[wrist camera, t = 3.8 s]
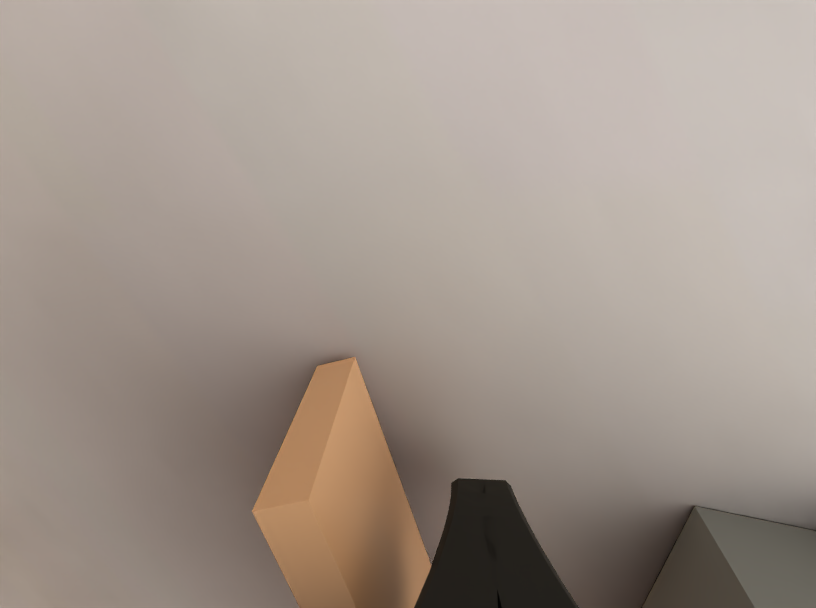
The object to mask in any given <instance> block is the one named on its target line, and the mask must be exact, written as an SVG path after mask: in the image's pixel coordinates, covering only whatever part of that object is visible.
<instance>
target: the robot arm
mask: <svg viewBox="0 0 816 608" xmlns="http://www.w3.org/2000/svg"><path fill="white" fill-rule="evenodd" d="M414 608H579V607H578V605H577V604H576V602H575V601H574V600H573V598H572V596H571V595H570V593H569V592H568V590H567V589H566V587H565V586H564V584H563V583H562V581H561V579H560V578H559V576H558V574H557V573H556V571H555V569H554V568H553V566H552V564H551V563H550V561H549V559H548V558H547V556H546V555H545V553H544V551H543V549H542V548H541V546H540V544H539V542H538V541H537V539H536V537H535V535H534V533H533V531H532V530H531V528H530V526H529V524H528V522H527V520H526V518H525V516H524V514H523V512H522V510H521V508H520V506H519V504H518V502H517V500H516V497H515V495H514V493H513V490H512V488H511V486H510V485H509V484H508V483H507V482H506V481H505V480H483V479H460V478H458V479H456V480H455V481H454V482H452V485H451V499H450V506H449V511H448V515H447V519H446V523H445V526H444V530H443V534H442V537H441V540H440V542H439V545H438V548H437V551H436V554H435V557H434V560H433V563H432V566H431V568H430V571H429V574H428V576H427V578H426V581H425V583H424V585H423V588H422V590H421V592H420V595H419V597H418V600H417V602H416V604H415V607H414Z"/></svg>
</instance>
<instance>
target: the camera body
mask: <svg viewBox="0 0 816 608" xmlns="http://www.w3.org/2000/svg"><path fill="white" fill-rule="evenodd" d="M642 608H816V531H814V530H809V529H804V528H799V527H794V526H789V525H784V524H780V523H775V522H770V521H765V520H760V519H755V518H750V517H745V516H741V515H736V514H731V513H726V512H721V511H716V510H711V509H706V508H702V507H697V506H694V508H693V510H692V512H691V514H690V516H689V518H688V520H687V522H686V524H685V526H684V528H683V530H682V531H681V533H680V535H679V537H678V539H677V541H676V543H675V545H674V547H673V549H672V551H671V553H670V555H669V557H668V559H667V560H666V562H665V564H664V566H663V568H662V570H661V572H660V574H659V576H658V578H657V580H656V582H655V584H654V586H653V587H652V589H651V591H650V593H649V595H648V597H647V599H646V601H645V603H644V605H643V607H642Z"/></svg>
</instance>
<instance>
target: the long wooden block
mask: <svg viewBox="0 0 816 608" xmlns="http://www.w3.org/2000/svg"><path fill="white" fill-rule="evenodd" d="M252 512H253V514H254V516H255V518H256V520H257V522H258V524H259V526H260V528H261V531H262V533H263V535H264V537H265V539H266V541H267V543H268V545H269V547H270V549H271V551H272V553H273V555H274V557H275V559H276V561H277V563H278V565H279V567H280V569H281V571H282V573H283V575H284V577H285V579H286V581H287V583H288V585H289V587H290V589H291V591H292V593H293V595H294V597H295V599H296V601H297V603H298V605H299V607H300V608H414V607H415V604H416V602H417V600H418V597H419V595H420V592H421V590H422V588H423V585H424V583H425V581H426V578H427V576H428V574H429V571H430V568H431V563H430V561H429V558H428V555H427V552H426V550H425V547H424V544H423V541H422V539H421V536H420V533H419V530H418V528H417V525H416V522H415V519H414V517H413V514H412V511H411V509H410V506H409V503H408V500H407V498H406V495H405V492H404V489H403V487H402V484H401V481H400V478H399V476H398V473H397V470H396V468H395V465H394V462H393V459H392V457H391V454H390V451H389V448H388V446H387V443H386V440H385V437H384V435H383V432H382V429H381V426H380V424H379V421H378V418H377V416H376V413H375V410H374V407H373V405H372V402H371V399H370V396H369V394H368V391H367V388H366V385H365V383H364V380H363V377H362V375H361V372H360V369H359V366H358V364H357V361H356V358H355V357H352V358H348V359H344V360H340V361H336V362H331V363H327V364H323V365H319V366H317V368H316V370H315V372H314V374H313V377H312V379H311V381H310V383H309V385H308V388H307V390H306V392H305V394H304V397H303V399H302V401H301V403H300V405H299V408H298V410H297V412H296V414H295V417H294V419H293V421H292V423H291V425H290V428H289V430H288V432H287V434H286V437H285V439H284V441H283V443H282V446H281V448H280V450H279V452H278V454H277V457H276V459H275V461H274V463H273V466H272V468H271V470H270V472H269V474H268V477H267V479H266V481H265V483H264V486H263V488H262V490H261V492H260V495H259V497H258V499H257V501H256V503H255V506H254V508H253V510H252Z"/></svg>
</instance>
